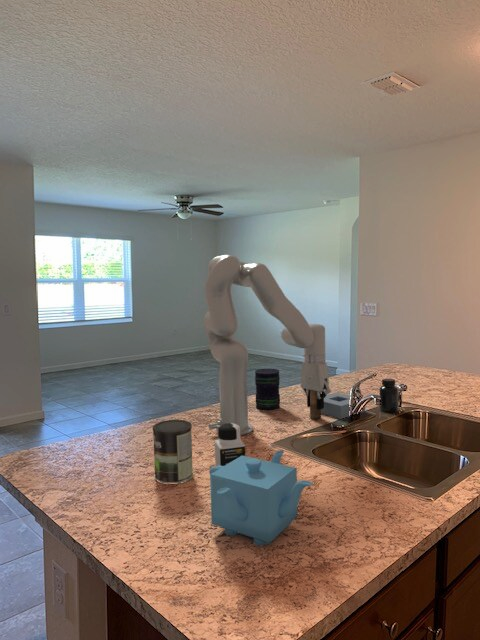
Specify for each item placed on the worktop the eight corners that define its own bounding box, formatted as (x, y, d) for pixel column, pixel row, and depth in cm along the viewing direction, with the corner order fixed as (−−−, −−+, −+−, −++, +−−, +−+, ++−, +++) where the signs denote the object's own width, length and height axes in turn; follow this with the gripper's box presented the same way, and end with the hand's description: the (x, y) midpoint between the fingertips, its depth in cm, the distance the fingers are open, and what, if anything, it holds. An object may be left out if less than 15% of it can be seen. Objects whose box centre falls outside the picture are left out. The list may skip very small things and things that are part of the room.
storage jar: (284, 409, 186) (283, 372, 185) (261, 412, 183) (261, 374, 181) (273, 403, 196) (272, 367, 194) (251, 406, 192) (250, 370, 191)
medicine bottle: (220, 473, 127) (219, 430, 126) (214, 463, 134) (213, 422, 133) (246, 470, 129) (244, 427, 128) (239, 460, 136) (238, 420, 135)
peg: (315, 421, 170) (315, 388, 169) (307, 418, 173) (307, 386, 172) (323, 418, 173) (323, 386, 172) (315, 416, 176) (314, 384, 175)
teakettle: (206, 513, 106) (204, 449, 105) (286, 502, 110) (284, 441, 109) (220, 562, 88) (217, 486, 86) (315, 547, 92) (314, 474, 90)
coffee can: (158, 488, 119) (156, 434, 118) (151, 472, 129) (149, 422, 128) (198, 480, 123) (196, 428, 122) (188, 466, 133) (186, 417, 131)
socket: (341, 419, 171) (341, 406, 171) (312, 411, 182) (312, 398, 182) (365, 411, 180) (365, 398, 179) (336, 404, 191) (336, 392, 190)
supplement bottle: (395, 407, 184) (396, 377, 183) (400, 413, 177) (400, 381, 176) (377, 407, 185) (378, 377, 183) (381, 413, 178) (381, 381, 177)
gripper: (291, 357, 175) (292, 405, 177) (325, 362, 162) (326, 414, 164) (305, 354, 180) (306, 401, 181) (339, 359, 167) (340, 410, 168)
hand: (315, 407), depth 173 cm, fingers closed on peg, 4 cm apart
